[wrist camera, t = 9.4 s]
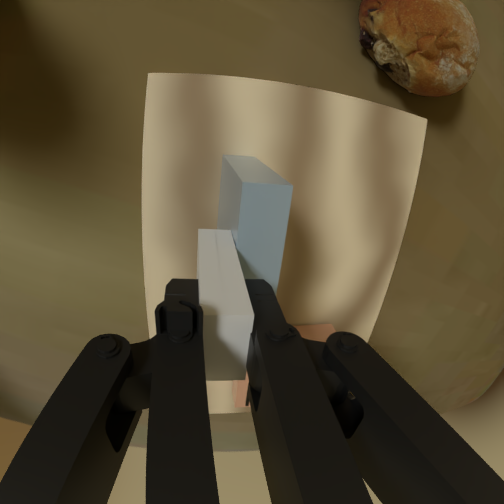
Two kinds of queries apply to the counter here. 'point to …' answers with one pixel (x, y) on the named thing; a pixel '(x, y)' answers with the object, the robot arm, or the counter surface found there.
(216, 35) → the counter surface
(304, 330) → the pink square tile
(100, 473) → the robot arm
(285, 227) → the tile blue
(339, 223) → the board
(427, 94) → the bread roll
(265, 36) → the counter surface
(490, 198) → the counter surface
